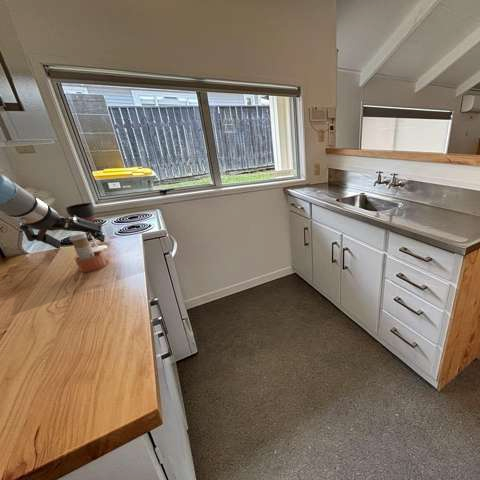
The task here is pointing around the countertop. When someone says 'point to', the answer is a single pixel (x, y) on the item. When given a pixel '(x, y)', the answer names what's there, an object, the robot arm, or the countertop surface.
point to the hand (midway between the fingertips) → (81, 241)
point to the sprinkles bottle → (81, 245)
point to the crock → (91, 262)
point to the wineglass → (85, 218)
